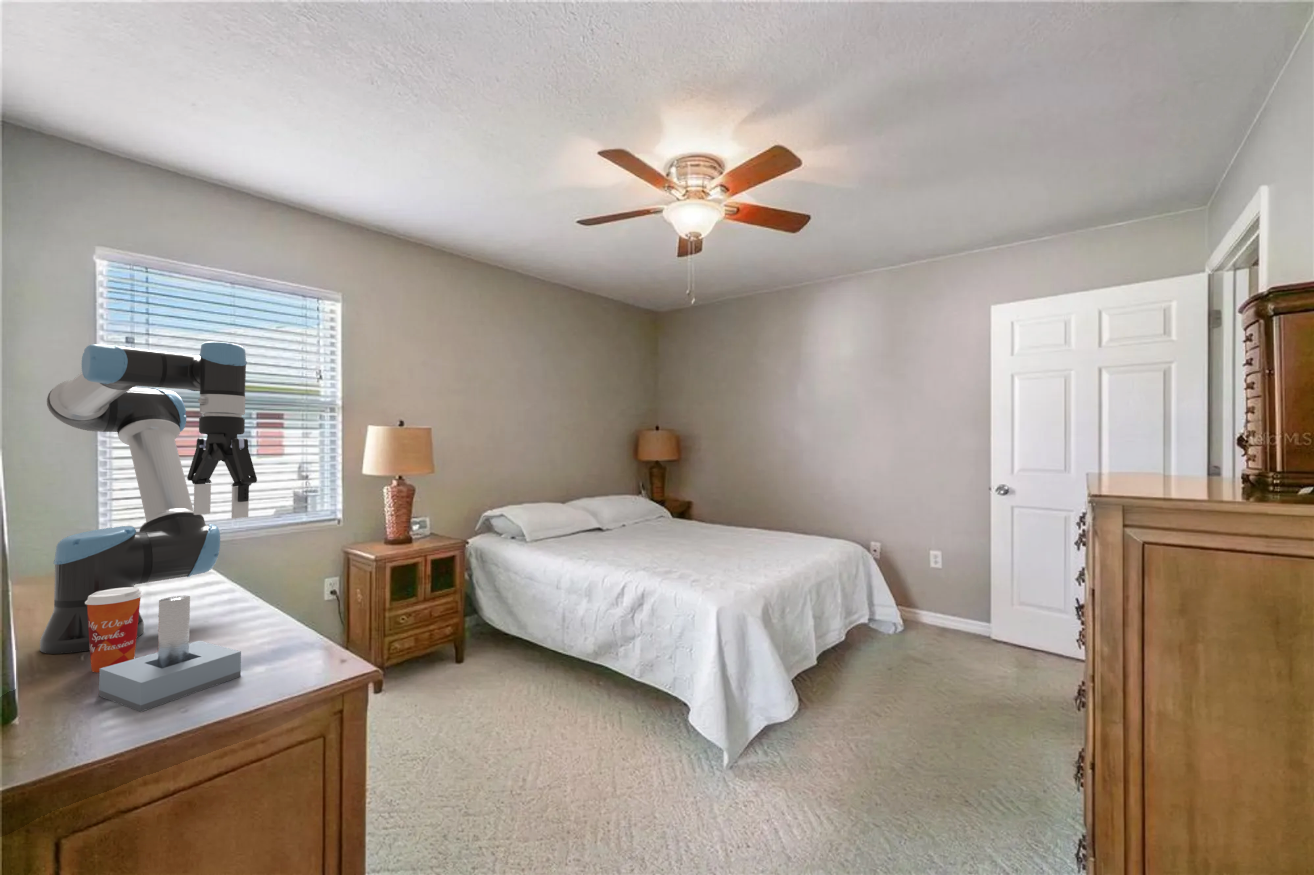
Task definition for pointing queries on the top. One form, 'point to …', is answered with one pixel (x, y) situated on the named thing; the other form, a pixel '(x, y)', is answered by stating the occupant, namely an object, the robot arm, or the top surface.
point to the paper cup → (113, 626)
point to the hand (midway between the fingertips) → (220, 516)
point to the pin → (173, 630)
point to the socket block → (168, 676)
